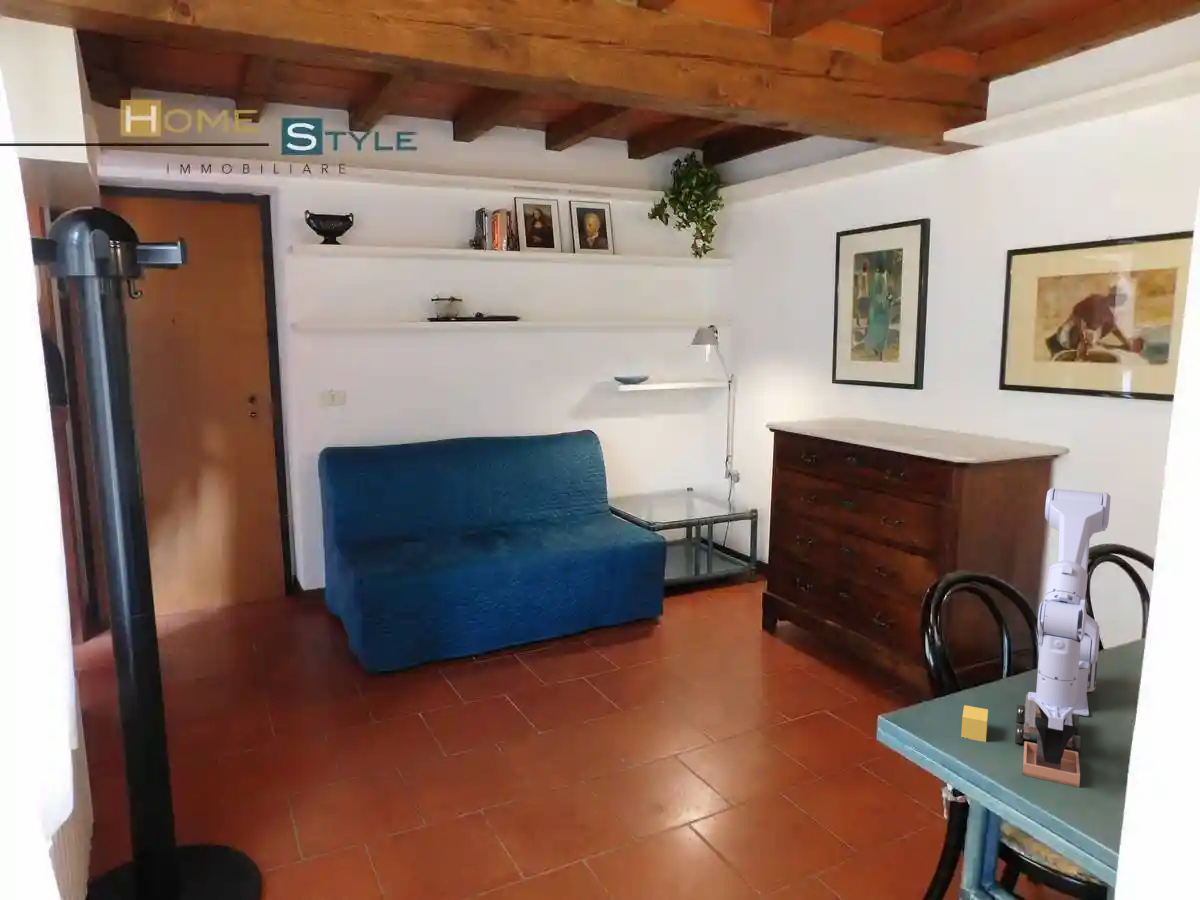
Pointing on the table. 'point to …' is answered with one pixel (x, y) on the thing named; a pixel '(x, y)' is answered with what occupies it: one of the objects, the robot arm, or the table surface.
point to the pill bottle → (1092, 677)
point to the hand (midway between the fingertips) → (1051, 751)
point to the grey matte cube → (1040, 757)
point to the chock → (974, 723)
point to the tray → (1065, 775)
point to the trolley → (1029, 714)
